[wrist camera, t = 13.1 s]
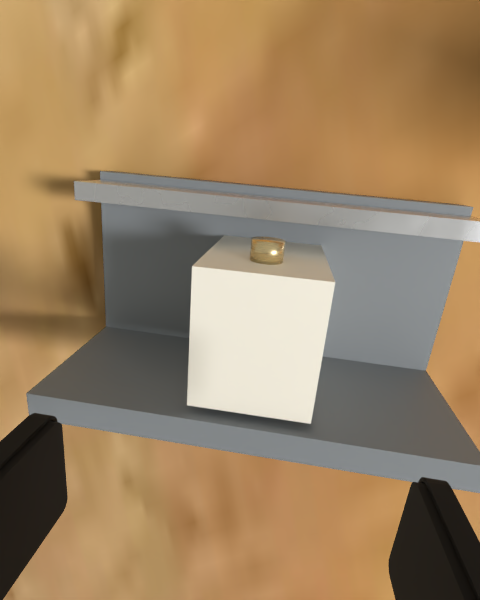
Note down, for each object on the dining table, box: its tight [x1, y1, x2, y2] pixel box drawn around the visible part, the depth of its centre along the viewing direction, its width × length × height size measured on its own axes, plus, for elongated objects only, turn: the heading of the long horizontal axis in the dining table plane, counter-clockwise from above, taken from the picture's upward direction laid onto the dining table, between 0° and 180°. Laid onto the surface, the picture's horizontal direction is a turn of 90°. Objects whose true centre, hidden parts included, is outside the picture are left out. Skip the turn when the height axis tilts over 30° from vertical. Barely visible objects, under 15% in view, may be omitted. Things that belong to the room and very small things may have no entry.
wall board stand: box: [26, 171, 480, 493], centre depth 21 cm, size 12×22×10 cm, turn 85°
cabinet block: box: [187, 235, 335, 424], centre depth 20 cm, size 8×6×8 cm
